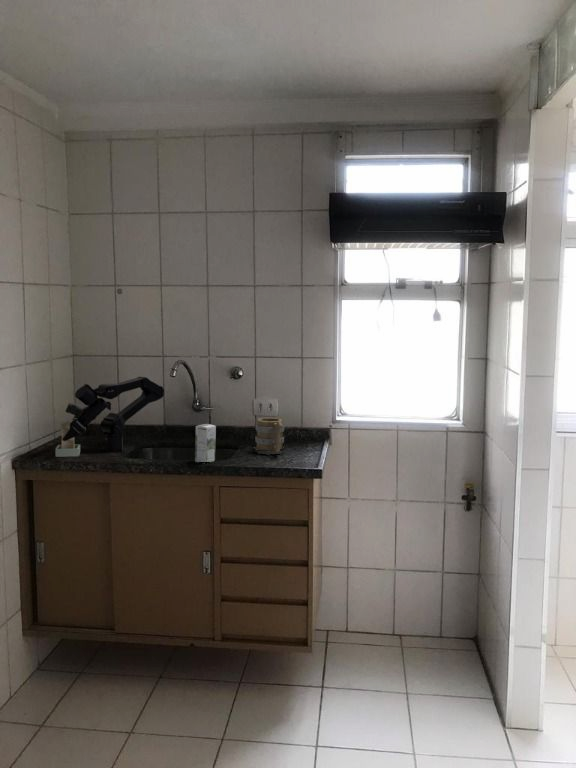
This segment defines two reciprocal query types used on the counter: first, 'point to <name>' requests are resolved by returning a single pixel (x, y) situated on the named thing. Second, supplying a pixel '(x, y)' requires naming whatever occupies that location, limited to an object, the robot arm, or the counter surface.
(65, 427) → the birch block
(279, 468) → the counter surface
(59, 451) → the holder
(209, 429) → the syrup box
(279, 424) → the tankard
